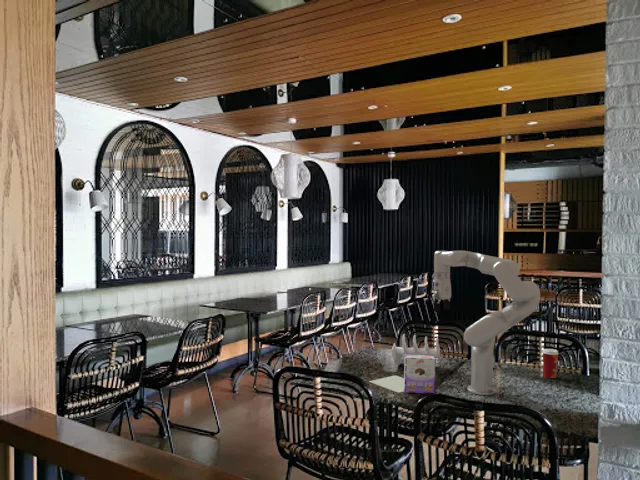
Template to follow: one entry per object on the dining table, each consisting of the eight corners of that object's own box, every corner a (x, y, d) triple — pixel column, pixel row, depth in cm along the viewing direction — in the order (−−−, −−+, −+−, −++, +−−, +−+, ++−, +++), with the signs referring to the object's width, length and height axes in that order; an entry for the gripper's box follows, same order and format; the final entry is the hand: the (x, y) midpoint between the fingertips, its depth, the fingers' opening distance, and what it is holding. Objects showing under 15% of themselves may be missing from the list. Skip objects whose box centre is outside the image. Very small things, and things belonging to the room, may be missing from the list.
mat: (425, 386, 234) (425, 385, 234) (398, 393, 223) (398, 392, 223) (395, 375, 250) (395, 375, 250) (369, 381, 239) (369, 381, 239)
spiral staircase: (395, 370, 275) (441, 372, 266) (388, 363, 260) (436, 366, 251) (397, 337, 282) (442, 339, 273) (391, 329, 268) (437, 331, 259)
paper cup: (559, 380, 246) (559, 352, 246) (542, 378, 248) (543, 351, 248) (557, 376, 253) (557, 349, 253) (540, 374, 256) (541, 347, 256)
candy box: (433, 390, 228) (434, 355, 227) (434, 394, 222) (436, 358, 221) (403, 388, 229) (404, 353, 229) (404, 392, 223) (405, 357, 223)
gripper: (440, 277, 232) (440, 313, 232) (457, 275, 245) (456, 309, 245) (426, 276, 237) (426, 311, 237) (443, 274, 250) (443, 307, 250)
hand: (441, 310), depth 241 cm, fingers open, 9 cm apart
